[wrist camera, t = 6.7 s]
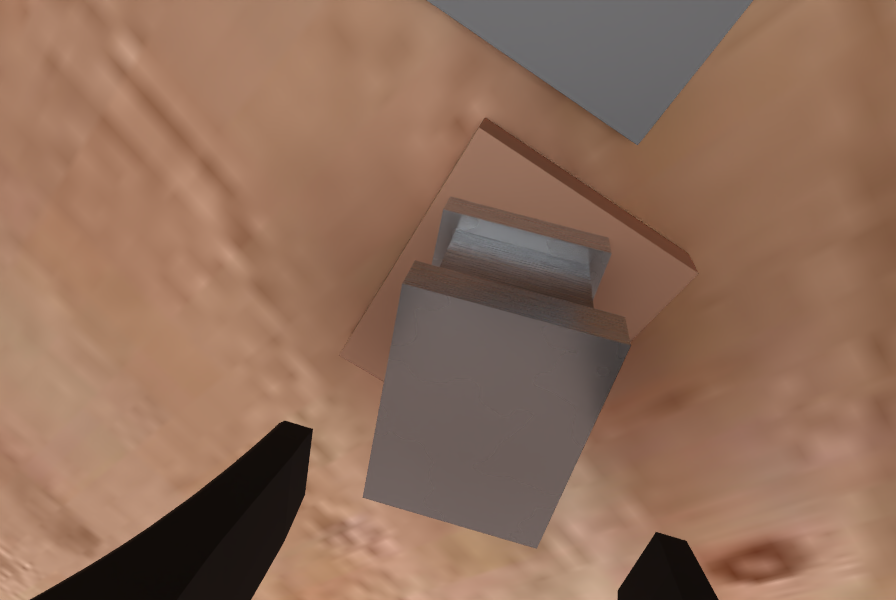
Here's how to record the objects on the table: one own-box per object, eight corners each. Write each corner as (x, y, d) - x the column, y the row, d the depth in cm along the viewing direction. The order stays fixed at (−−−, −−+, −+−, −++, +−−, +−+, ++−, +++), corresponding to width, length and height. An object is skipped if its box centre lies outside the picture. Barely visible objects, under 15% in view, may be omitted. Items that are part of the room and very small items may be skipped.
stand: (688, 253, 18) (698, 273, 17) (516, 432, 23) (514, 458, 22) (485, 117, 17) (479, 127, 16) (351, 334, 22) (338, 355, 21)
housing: (608, 237, 17) (631, 345, 11) (542, 407, 20) (536, 548, 15) (450, 196, 17) (401, 283, 12) (412, 371, 20) (362, 497, 15)
